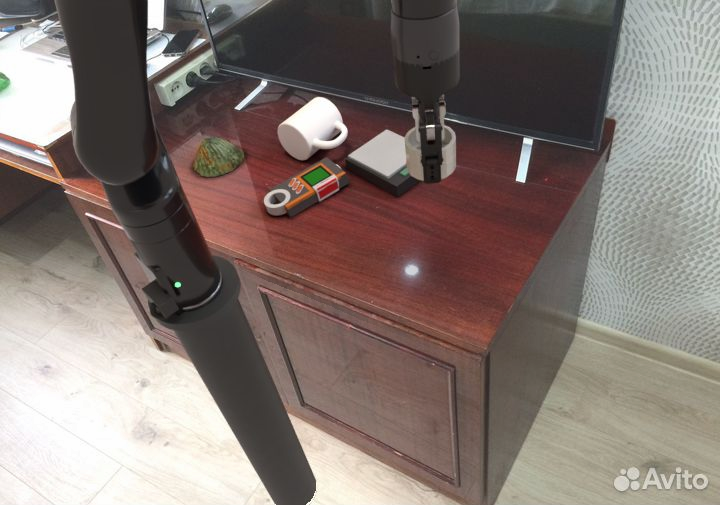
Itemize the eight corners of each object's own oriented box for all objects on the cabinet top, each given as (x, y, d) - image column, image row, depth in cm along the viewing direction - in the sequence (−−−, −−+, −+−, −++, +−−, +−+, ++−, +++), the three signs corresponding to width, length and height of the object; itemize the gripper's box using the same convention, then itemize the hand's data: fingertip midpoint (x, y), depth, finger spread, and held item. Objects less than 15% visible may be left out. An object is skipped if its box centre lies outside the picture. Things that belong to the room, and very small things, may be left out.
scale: (397, 197, 101) (396, 183, 99) (346, 169, 108) (344, 155, 106) (440, 165, 106) (439, 151, 104) (388, 140, 113) (386, 126, 111)
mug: (282, 154, 114) (272, 118, 109) (315, 127, 119) (307, 92, 114) (329, 172, 108) (322, 135, 103) (362, 143, 113) (356, 107, 108)
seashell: (197, 165, 108) (180, 140, 114) (202, 183, 111) (185, 158, 117) (248, 147, 111) (228, 124, 118) (252, 165, 114) (232, 142, 121)
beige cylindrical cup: (433, 191, 75) (431, 159, 72) (397, 171, 79) (394, 140, 76) (465, 166, 78) (466, 134, 74) (429, 148, 82) (428, 117, 78)
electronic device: (256, 195, 103) (327, 154, 107) (261, 207, 105) (331, 167, 109) (275, 214, 98) (348, 171, 103) (279, 226, 101) (351, 184, 105)
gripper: (391, 20, 72) (402, 135, 83) (392, 81, 62) (403, 202, 73) (454, 13, 71) (455, 131, 83) (465, 74, 61) (464, 198, 73)
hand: (431, 164), depth 78 cm, fingers closed on beige cylindrical cup, 6 cm apart
